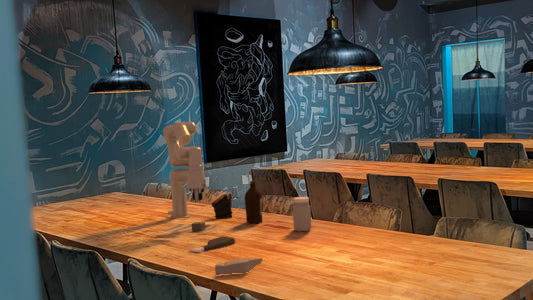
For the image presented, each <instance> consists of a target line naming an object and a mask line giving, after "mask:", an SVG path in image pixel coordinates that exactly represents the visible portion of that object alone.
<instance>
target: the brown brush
mask: <svg viewBox="0 0 533 300" xmlns="http://www.w3.org/2000/svg"><path fill="white" fill-rule="evenodd" d="M235 242H236V239H235V238H234V237H229V236H218V237H216V238H211V239H209V240H208V241H207V243H206V244H205V245H201V246H200V247H193V248H188V252H192V253H193V252H194V253H198V254H199V253H201V254H202V252H205V251H211V249H212V250H216V248H218V249H221V247H222V248H225V247H228V246H227V245H229V246H231V245H234V244H235ZM233 243H234V244H233ZM230 244H231V245H230ZM224 246H225V247H224Z"/></svg>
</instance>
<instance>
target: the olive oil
mask: <svg viewBox="0 0 533 300" xmlns="http://www.w3.org/2000/svg"><path fill="white" fill-rule="evenodd" d="M244 205H245V206H244V207H245V215H246V218H245V219H246V223H247V224H253V225H254V224H255V225H256V224H257V225H258V224H261V223H263V195H262V192H261V191H260V190H259V189H258V188H257V187H256V181H255V180H250V181H249V188H248V190H247V191H246V192H245V193H244Z"/></svg>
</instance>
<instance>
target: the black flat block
mask: <svg viewBox="0 0 533 300" xmlns="http://www.w3.org/2000/svg"><path fill="white" fill-rule="evenodd" d="M231 205H232V202H230V200H229V196H228V195H227V194H222V195H220V196H219V197H218V198H216V200H214V201H213V202H211V207H213V209H214V210H213V212H214V218H215V219H216V220H225V219H229V218H233V211H232V207H231Z"/></svg>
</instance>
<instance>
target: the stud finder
mask: <svg viewBox="0 0 533 300" xmlns="http://www.w3.org/2000/svg"><path fill="white" fill-rule="evenodd" d="M191 224H192V231H203V230H205V225H206V222H204V221H196V222H195V221H194V222H193V223H191Z"/></svg>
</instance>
